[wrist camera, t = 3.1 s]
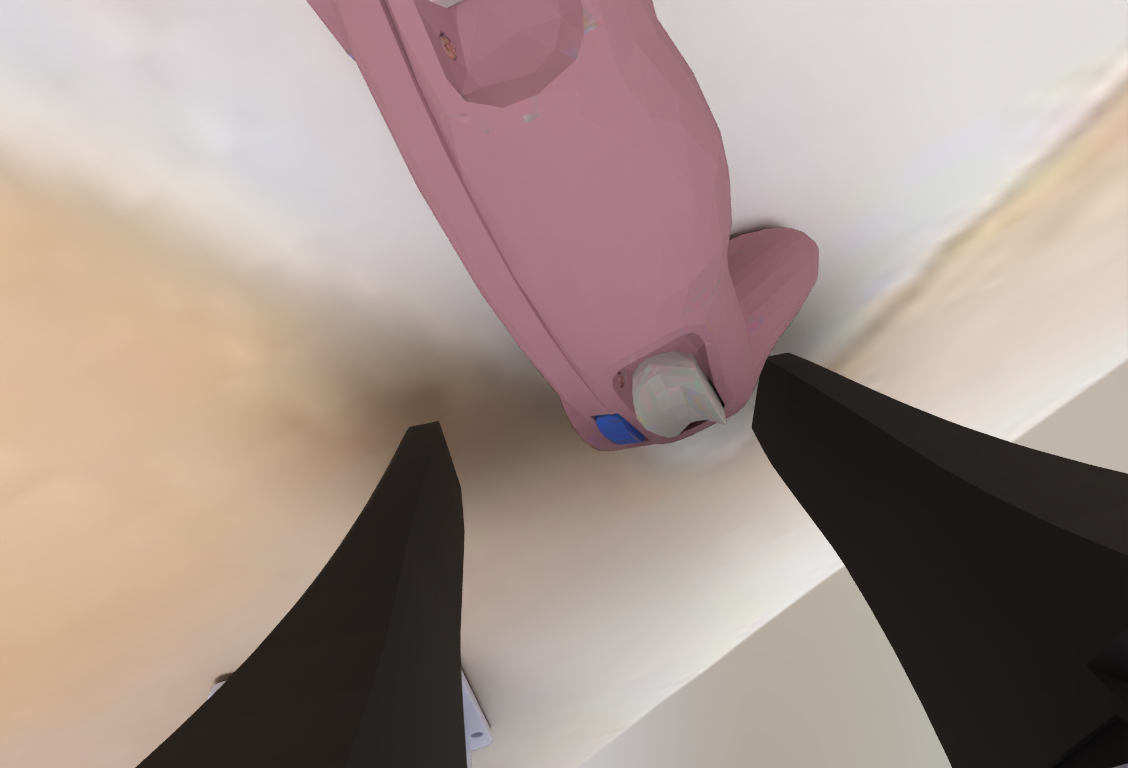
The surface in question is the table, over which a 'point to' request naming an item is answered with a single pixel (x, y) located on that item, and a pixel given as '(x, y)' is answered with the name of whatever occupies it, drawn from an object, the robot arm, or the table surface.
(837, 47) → the table surface
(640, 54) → the video game controller
